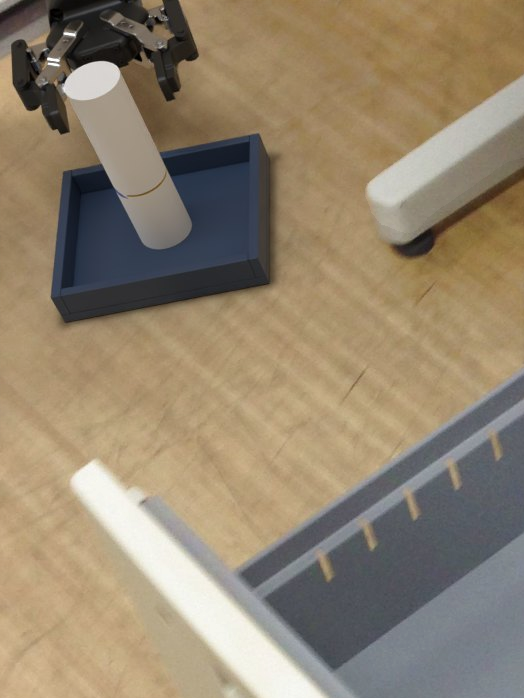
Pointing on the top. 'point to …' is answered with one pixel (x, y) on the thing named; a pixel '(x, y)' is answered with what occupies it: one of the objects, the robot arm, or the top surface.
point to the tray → (175, 262)
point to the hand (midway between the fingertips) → (114, 108)
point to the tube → (128, 154)
